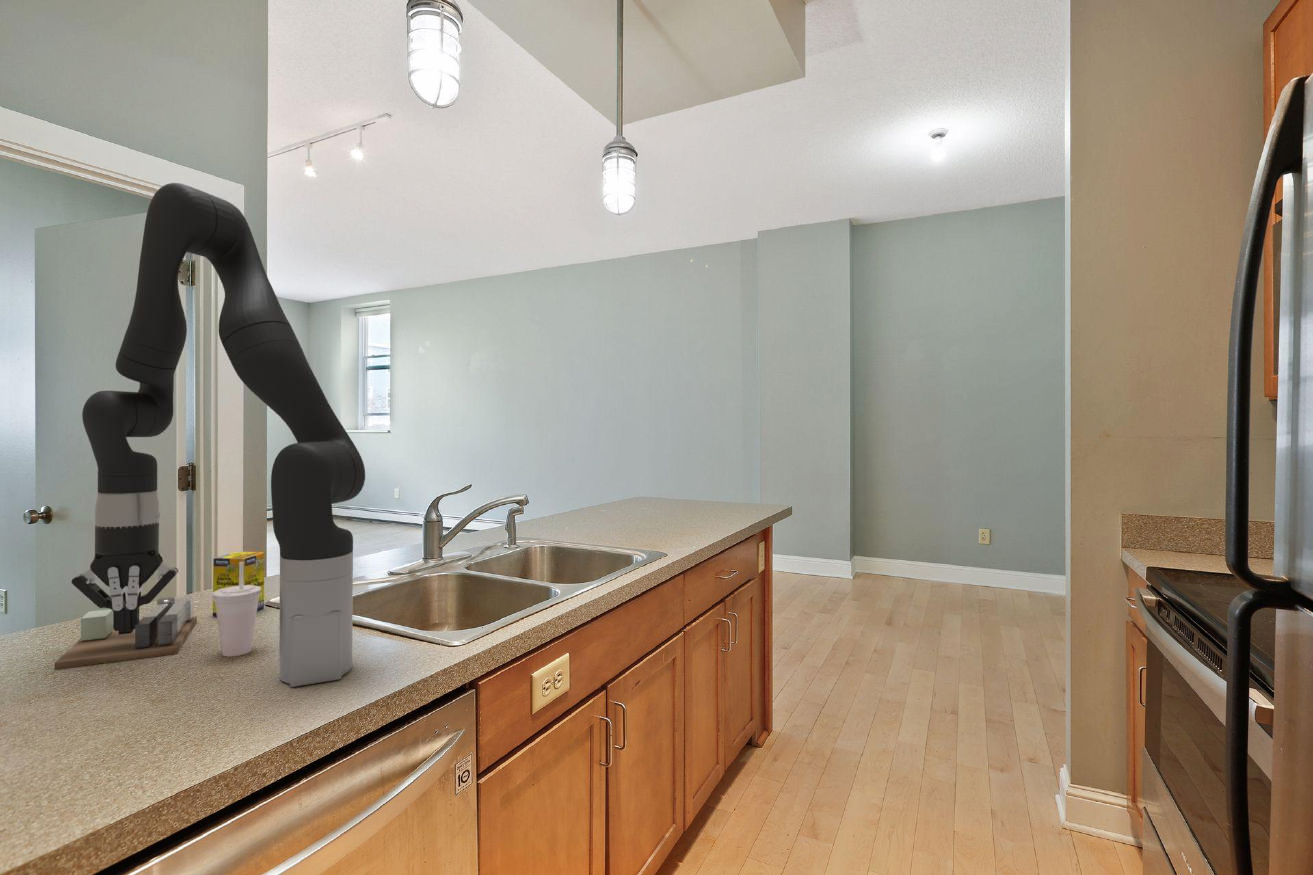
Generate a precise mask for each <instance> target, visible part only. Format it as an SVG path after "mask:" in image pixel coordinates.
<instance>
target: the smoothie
mask: <svg viewBox="0 0 1313 875" xmlns="http://www.w3.org/2000/svg"><path fill="white" fill-rule="evenodd" d="M261 594H262V593H261V587H259V586H254V585H244V562H239V586H233V587H227V588H223V589H219V590H217V591H215V592H213V591H212V594H211V595H212V598H211V601H212V602H213V601H214V602H215V607H216V614H217V617H216V619H217V627H218V634H219V639H220V646H221V653H222V656H224V657H230V658H231V657H239V656H242V655H246V654H248V653H250V652H251V651H252V646H253V641H254V634H255V627H256V619H257V612H258V611H257V607H258V599H259V596H260V595H261Z"/></svg>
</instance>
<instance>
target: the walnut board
mask: <svg viewBox="0 0 1313 875" xmlns="http://www.w3.org/2000/svg"><path fill="white" fill-rule="evenodd" d="M197 617H198V615H193V618H192V619H191V620H190V621H187V622H186V623H185V625H184V626H183V628H182V629H181V631H180V632H179V634H178V635H177V637H176V639H175V640H174V642H173V643H172V644H169V645H161V646H158V637H157V639H156V640H155V641H154V642H153V643H152V644H151V646H150V647H145V648H136V649H135V629H134V630H133V632H132V633H129V634H120V635H119V633H118V631H115V630H114V628H113V631H112V632H111V633H110V634H109V635H108V636H107V637H106V638H101V639H92V640H83V641H81V638H79V640H77V642H75V644H73V645H72V646H71V647H70V648H69V649H68V650H67V651H66V652H65V653H63V655H61V656H60V657H59V658H58V659H57V660H56V661H55V662H54V664H53V665H54V670H55V671H57V670H64V669H71V668H70V667H72V668H78V667H84V665H87V666H92V665H91V664H95V665H100V664H99V663H102V664H105V663H104V662H110V663H116V662H115V661H118V662H123V661H122V660H126V661H130V659H133V660H136V659H135V658H141V659H146V658H147V657H149V658H157V657H163V656H171V655H177V654H178V652H179V651H180V649H181V648H182V647H183V645H184V643H185V641H186V640H187V639H188V637H189V635H190V634H191V631H192V630H193V629H194V627H195V625H196V623H197V622H198V620H197V619H198V618H197Z"/></svg>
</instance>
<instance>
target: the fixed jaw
mask: <svg viewBox="0 0 1313 875" xmlns="http://www.w3.org/2000/svg"><path fill="white" fill-rule="evenodd" d="M160 604H169V610H168V612H167V613H166V614H165V615H164V616H163V617H162V618H161V620H160V621H159V622H158V646H161V645H169V644H172V643H173V642H174V640H175V639H176V637H177V635H178V634H179V632H180V631H181V629H182V628H183V626H184V625H185V623H186V622H187V621H190V620H191V619H192V618H193V616H194V596H188V597H178V598H177V597H176V598H175V597H163V598H162V597H161V598H158V599H157V600H156V605H160Z"/></svg>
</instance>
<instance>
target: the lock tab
mask: <svg viewBox="0 0 1313 875" xmlns="http://www.w3.org/2000/svg"><path fill="white" fill-rule="evenodd" d="M112 631H113V610H111V609H109V608H108V609H103V610H101V609H100V610H99V609H98V610H91V611H90V610H89V611H88V612H87V613H86V614H84V615H83V616H82V617H81V618H80V639H81V641H83V640H92V639H101V638H106V637H107V636H108V635H109V634H110V633H111V632H112Z"/></svg>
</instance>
